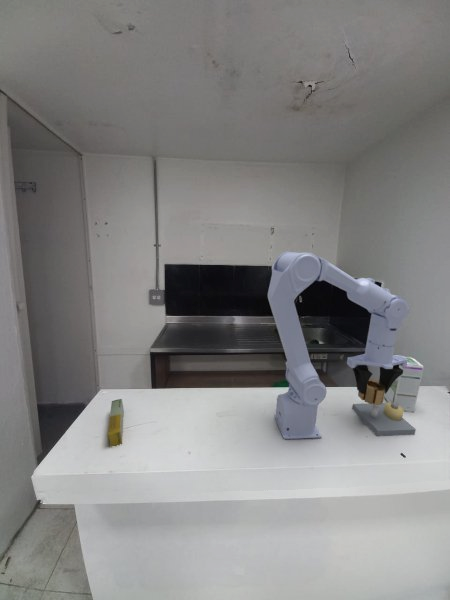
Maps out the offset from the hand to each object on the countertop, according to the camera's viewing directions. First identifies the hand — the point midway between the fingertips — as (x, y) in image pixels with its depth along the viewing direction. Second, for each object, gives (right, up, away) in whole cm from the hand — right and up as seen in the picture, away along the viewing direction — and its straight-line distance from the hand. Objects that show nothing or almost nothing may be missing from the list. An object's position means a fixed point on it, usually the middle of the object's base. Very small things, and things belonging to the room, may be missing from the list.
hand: (371, 391), depth 60 cm
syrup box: (+14, -8, +9) cm, 18 cm away
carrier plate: (+4, -9, +2) cm, 10 cm away
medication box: (-65, -8, -2) cm, 65 cm away
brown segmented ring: (0, -2, 0) cm, 2 cm away
